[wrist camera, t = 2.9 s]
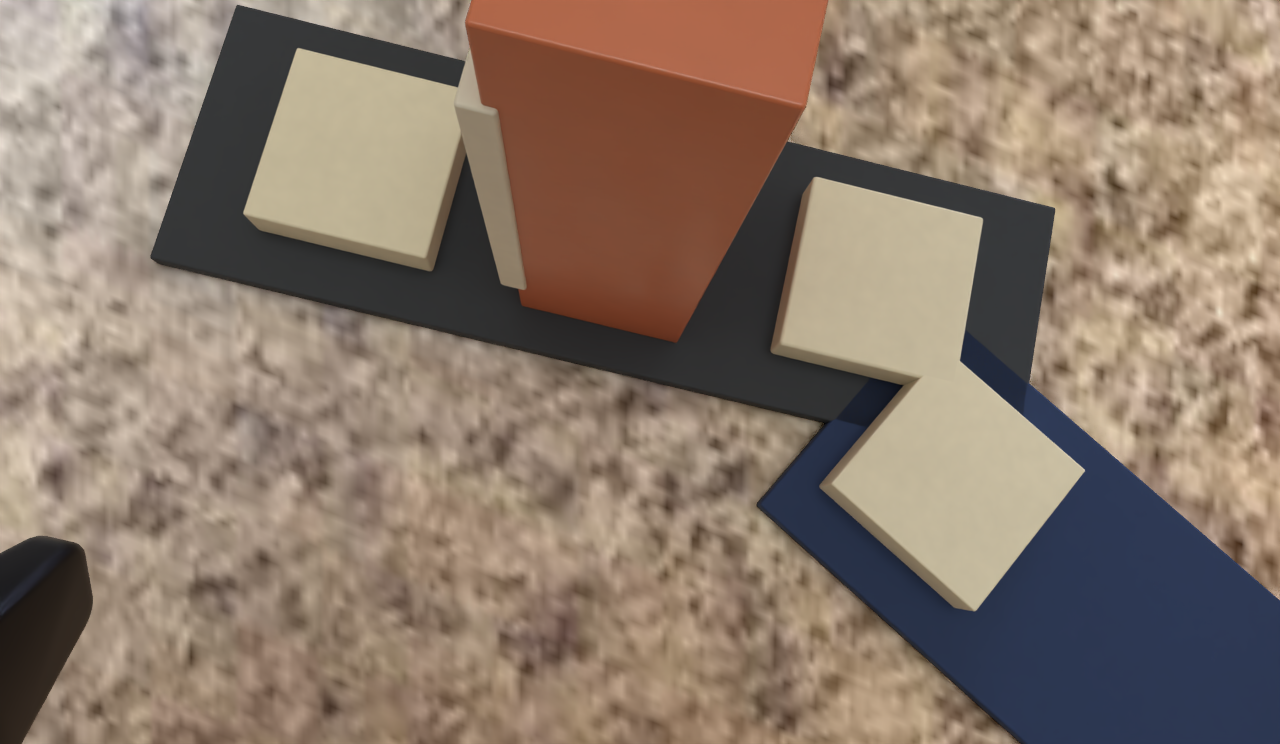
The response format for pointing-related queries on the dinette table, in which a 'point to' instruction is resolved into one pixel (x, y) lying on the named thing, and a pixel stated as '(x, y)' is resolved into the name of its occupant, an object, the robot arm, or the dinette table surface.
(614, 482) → the dinette table surface
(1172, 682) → the blue tile board
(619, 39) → the upright orange brick
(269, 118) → the dark grey base plate
